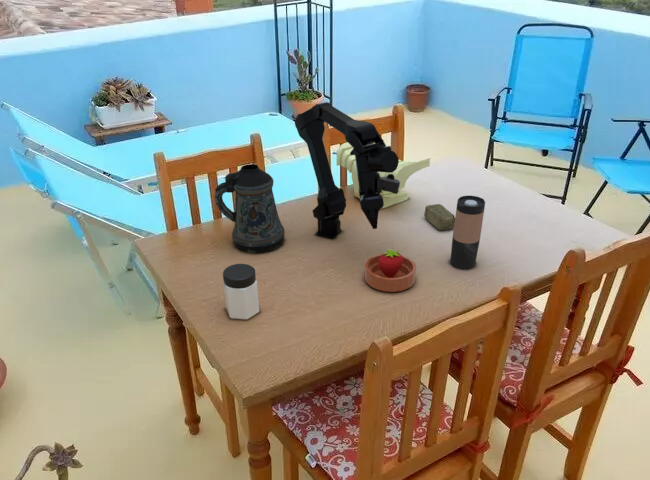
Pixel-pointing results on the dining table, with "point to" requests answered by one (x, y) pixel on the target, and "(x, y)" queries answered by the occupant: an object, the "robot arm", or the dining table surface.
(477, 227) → the travel mug
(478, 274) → the dining table surface
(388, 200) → the slatted curved stool
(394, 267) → the strawberry
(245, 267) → the jar
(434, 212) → the stone block
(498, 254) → the dining table surface
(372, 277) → the pot
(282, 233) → the beer stein
